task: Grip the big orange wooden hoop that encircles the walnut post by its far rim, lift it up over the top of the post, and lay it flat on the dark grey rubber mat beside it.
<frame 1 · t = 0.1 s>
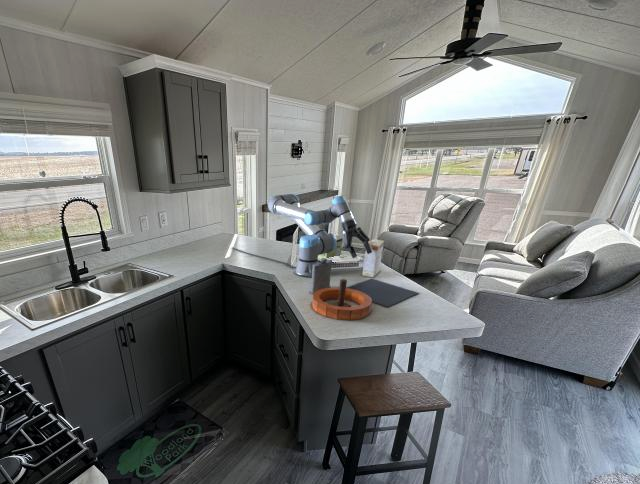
hand: (362, 255, 186), 15 cm above the countertop, tool tilted 35°, fingers open, 13 cm apart
grey flat box: (320, 290, 180), on the countertop
mat: (378, 292, 176), on the countertop
ring: (340, 307, 160), on the countertop
post: (340, 307, 160), on the countertop
protein box: (327, 260, 230), on the countertop
coffeecake box: (371, 273, 203), on the countertop, touching gripper
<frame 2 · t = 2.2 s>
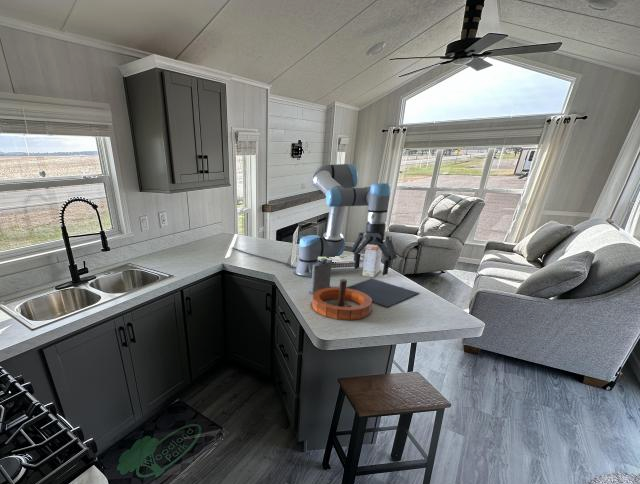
hand: (370, 271, 144), 21 cm above the countertop, tool pointing down, fingers open, 13 cm apart
coffeecake box: (371, 273, 203), on the countertop
everything else where it was.
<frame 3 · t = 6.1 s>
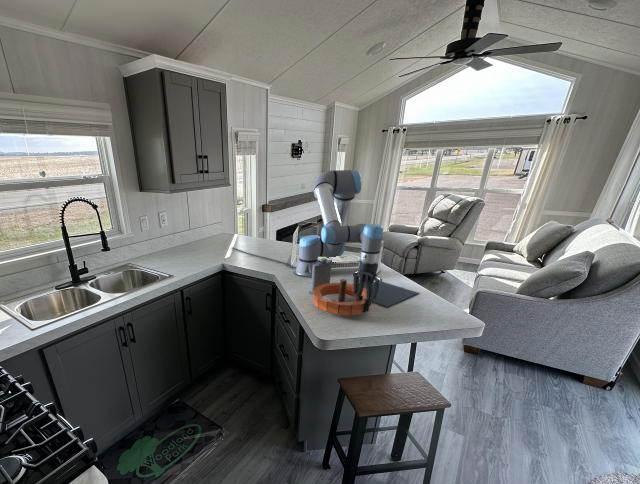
hand: (362, 310, 150), 3 cm above the countertop, tool pointing down, fingers closed on ring, 3 cm apart
ring: (341, 302, 159), point 2 cm above the countertop, touching gripper
everything else where it was.
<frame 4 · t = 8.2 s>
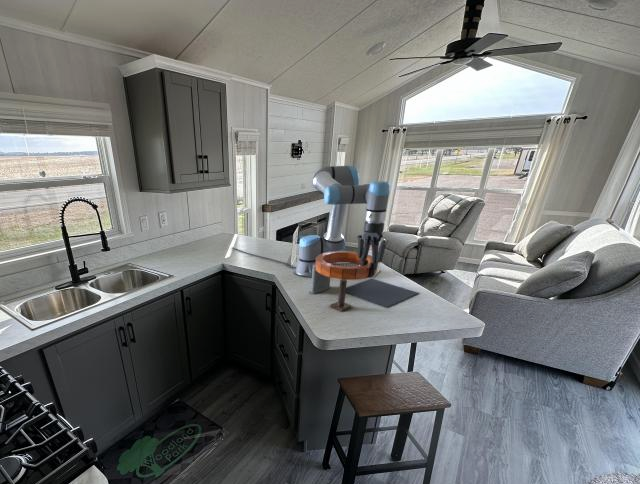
hand: (367, 275, 143), 20 cm above the countertop, tool pointing down, fingers closed on ring, 3 cm apart
ring: (345, 269, 152), point 19 cm above the countertop, touching gripper
everything else where it was.
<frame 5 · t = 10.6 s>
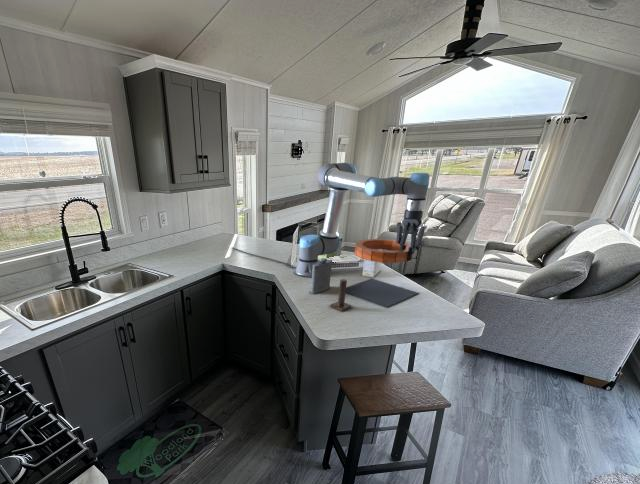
hand: (405, 259, 157), 21 cm above the countertop, tool pointing down, fingers closed on ring, 3 cm apart
ring: (382, 254, 166), point 21 cm above the countertop, touching gripper
everything else where it was.
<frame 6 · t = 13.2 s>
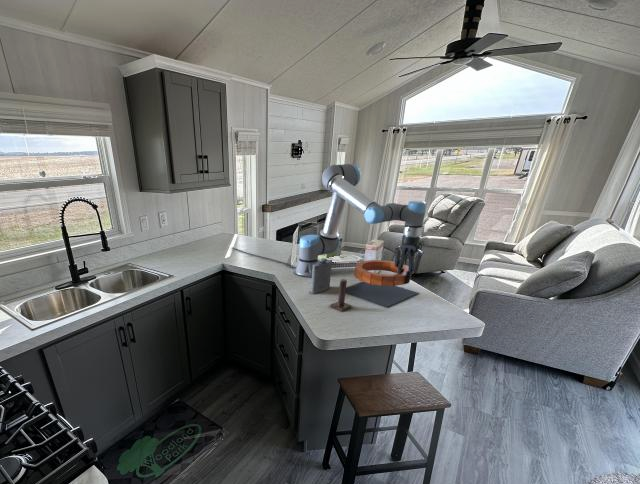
hand: (403, 282, 163), 9 cm above the countertop, tool pointing down, fingers closed on ring, 3 cm apart
ring: (381, 276, 172), point 9 cm above the countertop, touching gripper
everything else where it was.
when the fingers open (1 cm above the countertop, at t = 15.2 s): ring stays where it is, resting on mat.
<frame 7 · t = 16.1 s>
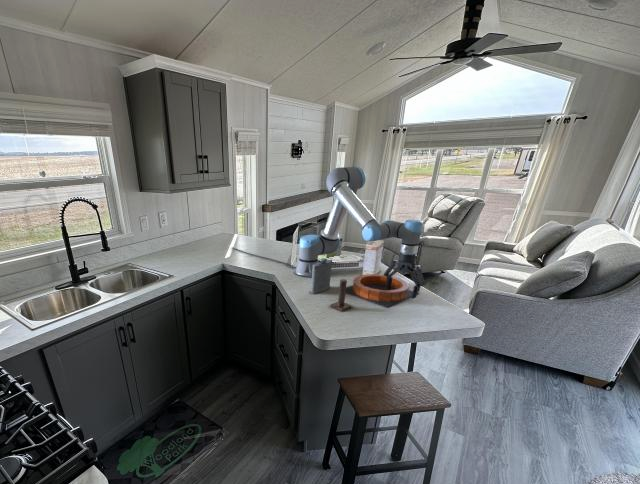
hand: (400, 293, 165), 3 cm above the countertop, tool pointing down, fingers open, 13 cm apart
ring: (379, 291, 176), resting on mat
everything else where it was.
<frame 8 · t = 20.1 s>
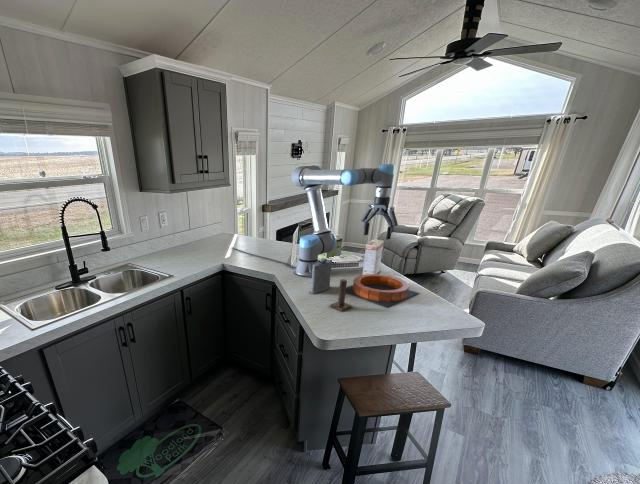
hand: (376, 237, 177), 27 cm above the countertop, tool pointing down, fingers open, 13 cm apart
nothing on the countertop moved.
at the end: ring inside the target area (0.2 cm from its centre), resting on mat; ring tilted 0°; the gripper is holding nothing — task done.
